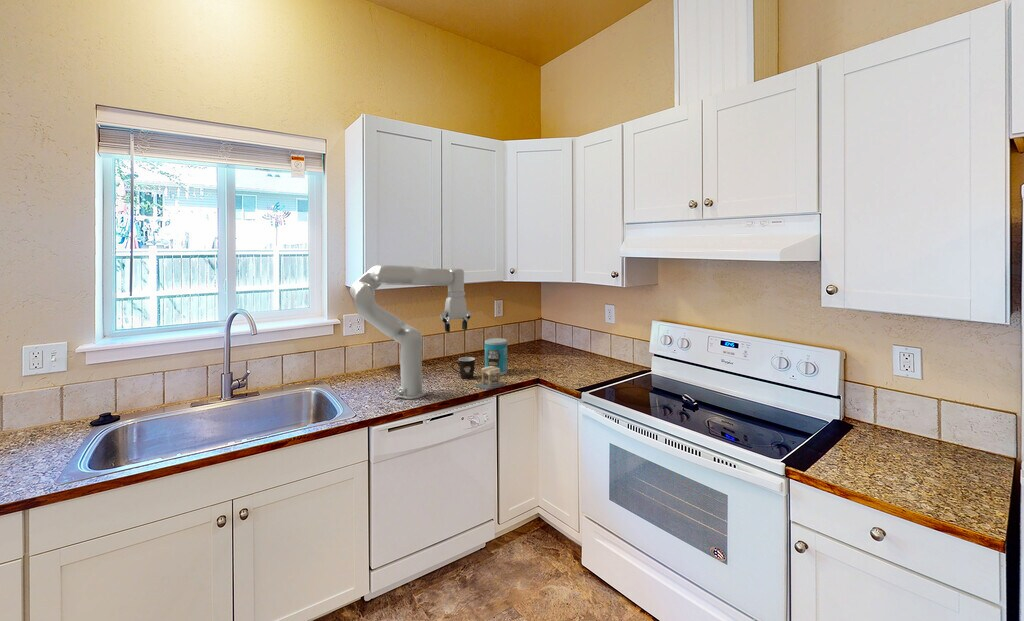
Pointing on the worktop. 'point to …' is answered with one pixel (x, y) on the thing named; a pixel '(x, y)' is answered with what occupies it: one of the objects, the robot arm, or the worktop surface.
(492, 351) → the food can
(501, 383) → the mat
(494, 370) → the wooden u-shaped block
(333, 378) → the worktop surface
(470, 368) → the coffee mug
